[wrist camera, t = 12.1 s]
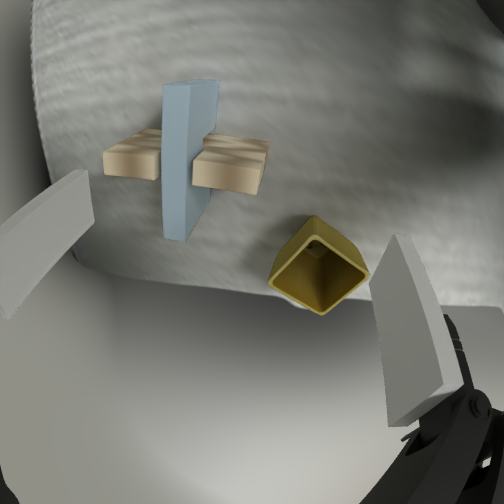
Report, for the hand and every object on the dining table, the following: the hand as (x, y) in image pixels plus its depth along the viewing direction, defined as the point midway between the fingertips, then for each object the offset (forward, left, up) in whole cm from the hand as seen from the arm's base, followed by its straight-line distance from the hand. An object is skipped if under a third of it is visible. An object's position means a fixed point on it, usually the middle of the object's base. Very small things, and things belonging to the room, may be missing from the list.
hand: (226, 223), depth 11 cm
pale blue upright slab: (+8, -3, -24) cm, 26 cm away
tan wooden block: (+8, -3, -24) cm, 26 cm away
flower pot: (+4, +16, -25) cm, 30 cm away
